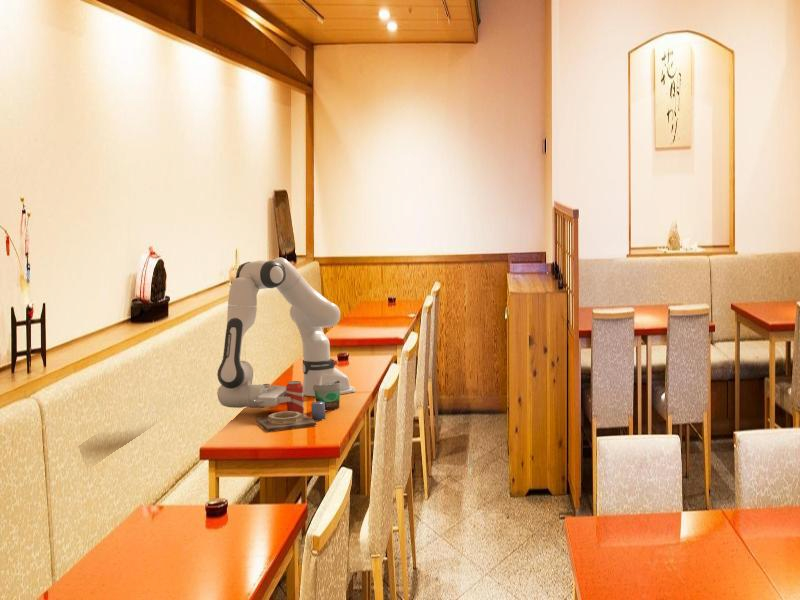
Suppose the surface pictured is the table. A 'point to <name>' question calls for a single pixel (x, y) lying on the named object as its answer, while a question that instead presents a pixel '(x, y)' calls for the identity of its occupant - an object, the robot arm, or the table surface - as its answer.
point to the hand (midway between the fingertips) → (294, 396)
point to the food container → (328, 395)
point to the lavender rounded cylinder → (318, 410)
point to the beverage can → (295, 396)
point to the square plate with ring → (285, 421)
